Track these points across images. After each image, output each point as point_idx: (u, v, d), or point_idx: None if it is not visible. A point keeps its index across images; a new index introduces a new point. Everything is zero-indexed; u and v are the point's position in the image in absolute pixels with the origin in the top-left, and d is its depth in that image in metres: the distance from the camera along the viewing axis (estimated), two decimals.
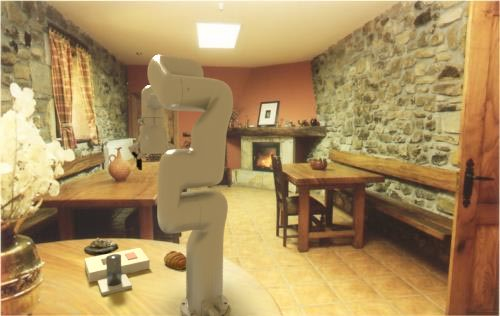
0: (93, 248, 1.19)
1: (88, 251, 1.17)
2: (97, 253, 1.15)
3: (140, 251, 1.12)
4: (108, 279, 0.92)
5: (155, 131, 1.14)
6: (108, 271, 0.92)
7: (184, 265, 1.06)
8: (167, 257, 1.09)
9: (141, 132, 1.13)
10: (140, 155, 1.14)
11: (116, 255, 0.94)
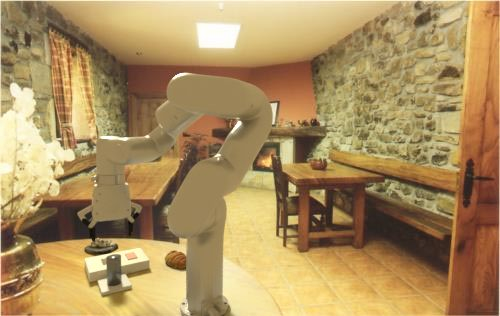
0: (93, 248, 1.19)
1: (88, 251, 1.17)
2: (97, 253, 1.16)
3: (140, 251, 1.12)
4: (108, 279, 0.92)
5: (112, 192, 0.89)
6: (108, 271, 0.92)
7: None
8: (168, 257, 1.09)
9: (94, 194, 0.87)
10: (93, 223, 0.88)
11: (116, 255, 0.94)
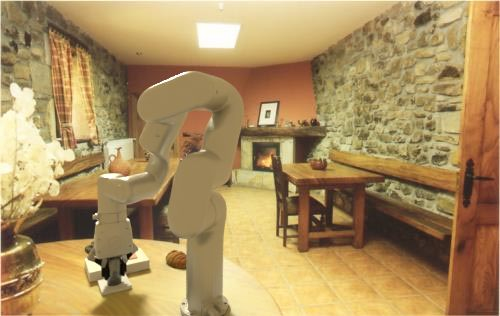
0: None
1: (88, 250, 1.17)
2: None
3: (140, 251, 1.12)
4: (108, 279, 0.92)
5: (114, 229, 0.90)
6: (108, 271, 0.92)
7: None
8: (169, 256, 1.10)
9: (96, 232, 0.88)
10: (104, 262, 0.91)
11: None
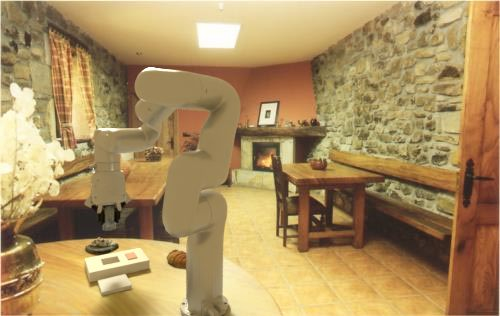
0: (93, 247, 1.20)
1: (88, 250, 1.18)
2: (97, 252, 1.16)
3: (140, 251, 1.12)
4: (103, 224, 1.01)
5: (109, 178, 0.99)
6: (103, 217, 1.01)
7: None
8: (170, 256, 1.10)
9: (93, 180, 0.97)
10: (99, 208, 1.00)
11: (111, 203, 1.03)
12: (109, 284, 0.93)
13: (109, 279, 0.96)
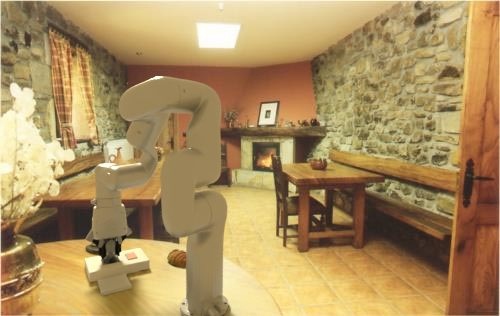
0: (94, 247, 1.20)
1: (88, 250, 1.18)
2: (96, 252, 1.16)
3: (140, 251, 1.12)
4: None
5: (110, 213, 1.00)
6: (104, 251, 1.02)
7: None
8: (171, 255, 1.10)
9: (94, 215, 0.99)
10: (101, 242, 1.01)
11: (112, 237, 1.05)
12: (109, 284, 0.93)
13: (109, 279, 0.96)
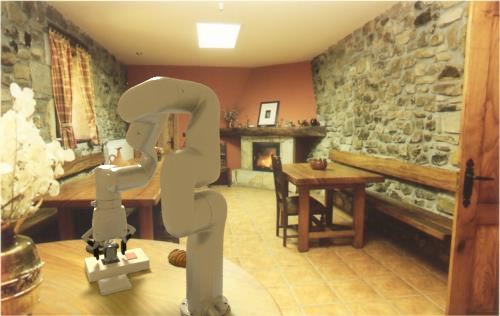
0: None
1: (88, 249, 1.18)
2: None
3: (140, 251, 1.12)
4: None
5: (110, 214, 1.00)
6: (105, 258, 1.03)
7: None
8: (171, 255, 1.11)
9: (94, 217, 0.99)
10: (96, 243, 1.00)
11: (112, 244, 1.05)
12: (109, 284, 0.93)
13: (109, 279, 0.96)
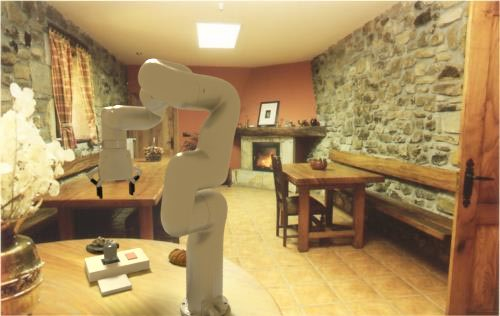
0: (94, 246, 1.20)
1: (89, 249, 1.18)
2: (96, 252, 1.17)
3: (140, 251, 1.12)
4: None
5: (116, 155, 1.02)
6: (105, 258, 1.03)
7: None
8: (172, 255, 1.11)
9: (101, 157, 1.01)
10: (100, 182, 1.02)
11: (112, 244, 1.05)
12: (109, 284, 0.93)
13: (109, 279, 0.96)
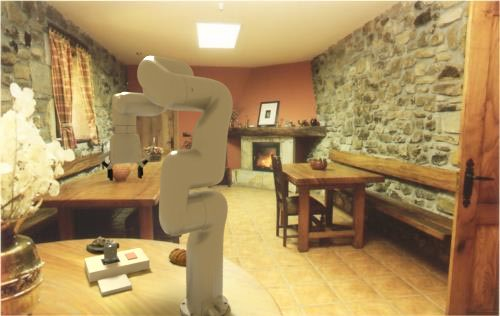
0: (94, 246, 1.20)
1: (89, 249, 1.19)
2: (96, 251, 1.17)
3: (140, 251, 1.12)
4: None
5: (126, 139, 1.08)
6: (105, 258, 1.03)
7: None
8: (172, 254, 1.11)
9: (111, 141, 1.07)
10: (111, 165, 1.08)
11: (112, 244, 1.05)
12: (109, 284, 0.93)
13: (109, 279, 0.96)
